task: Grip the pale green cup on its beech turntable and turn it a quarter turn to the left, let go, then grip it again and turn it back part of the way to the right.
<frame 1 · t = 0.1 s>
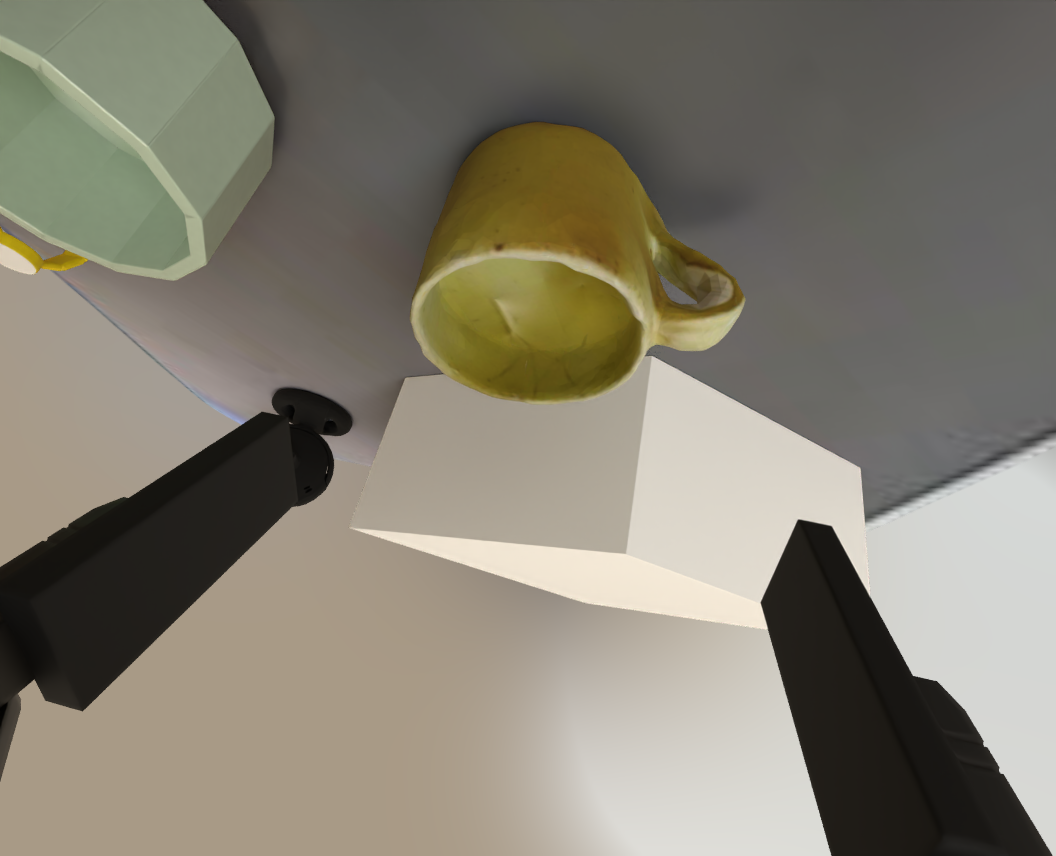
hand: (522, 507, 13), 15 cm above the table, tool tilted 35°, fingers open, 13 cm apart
webcam: (316, 406, 50), on the table
pale green cup: (48, 92, 18), point 5 cm above the table, hinge at 0.0°
block: (625, 418, 39), on the table
mug: (594, 203, 23), on the table
watch: (72, 172, 28), on the table
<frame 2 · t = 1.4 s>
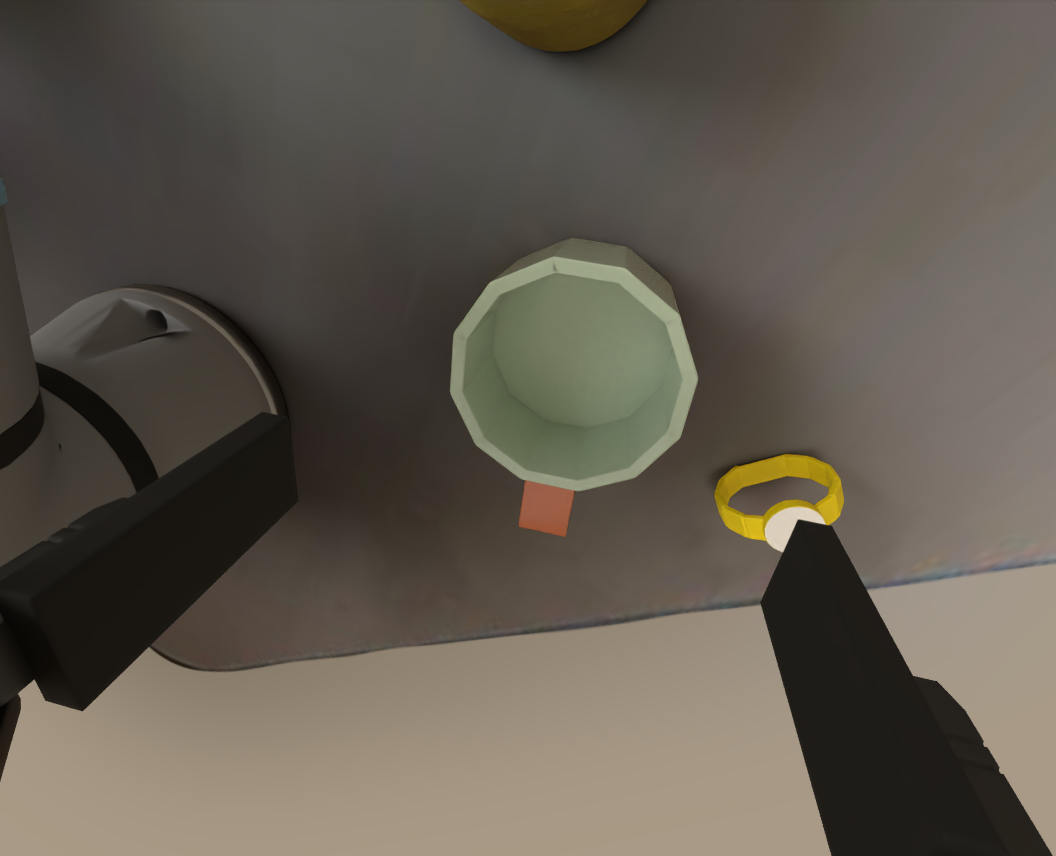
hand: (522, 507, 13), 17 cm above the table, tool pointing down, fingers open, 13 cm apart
pale green cup: (569, 389, 25), point 5 cm above the table, hinge at 0.0°
watch: (763, 466, 30), on the table
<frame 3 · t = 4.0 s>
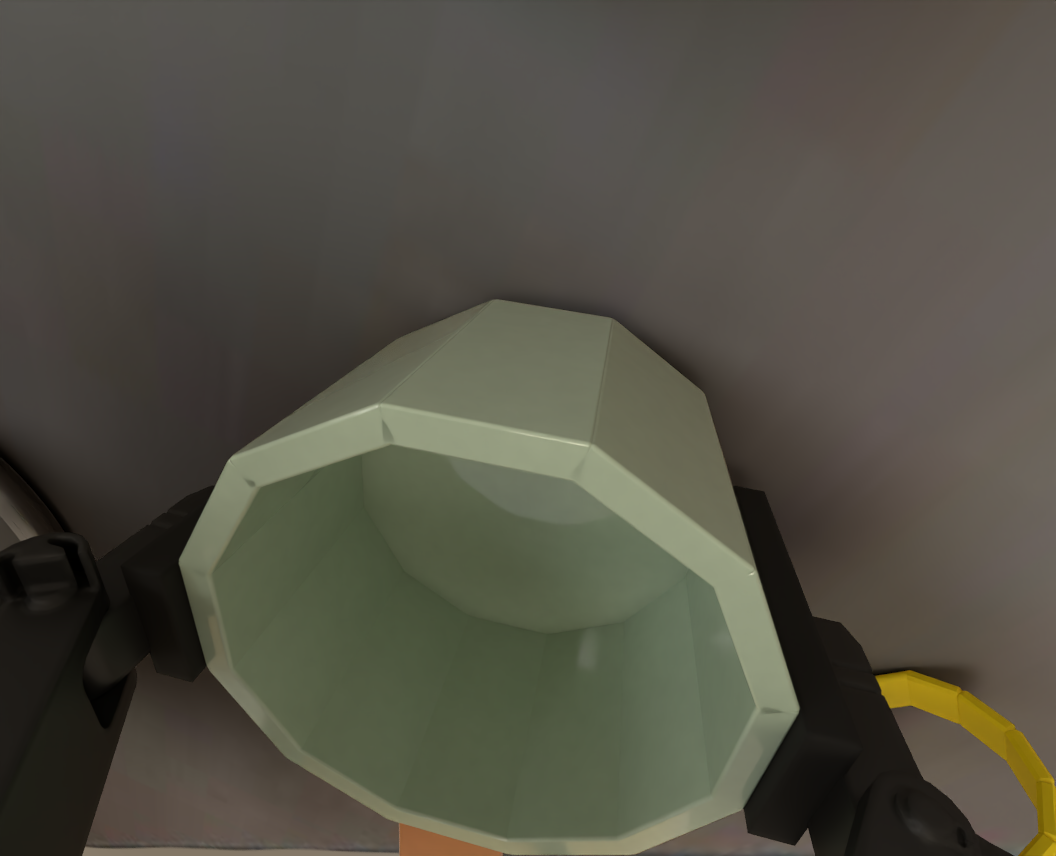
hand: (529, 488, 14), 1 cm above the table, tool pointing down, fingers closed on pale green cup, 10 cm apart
pale green cup: (497, 612, 12), point 5 cm above the table, hinge at 0.0°, touching gripper
watch: (863, 681, 17), on the table
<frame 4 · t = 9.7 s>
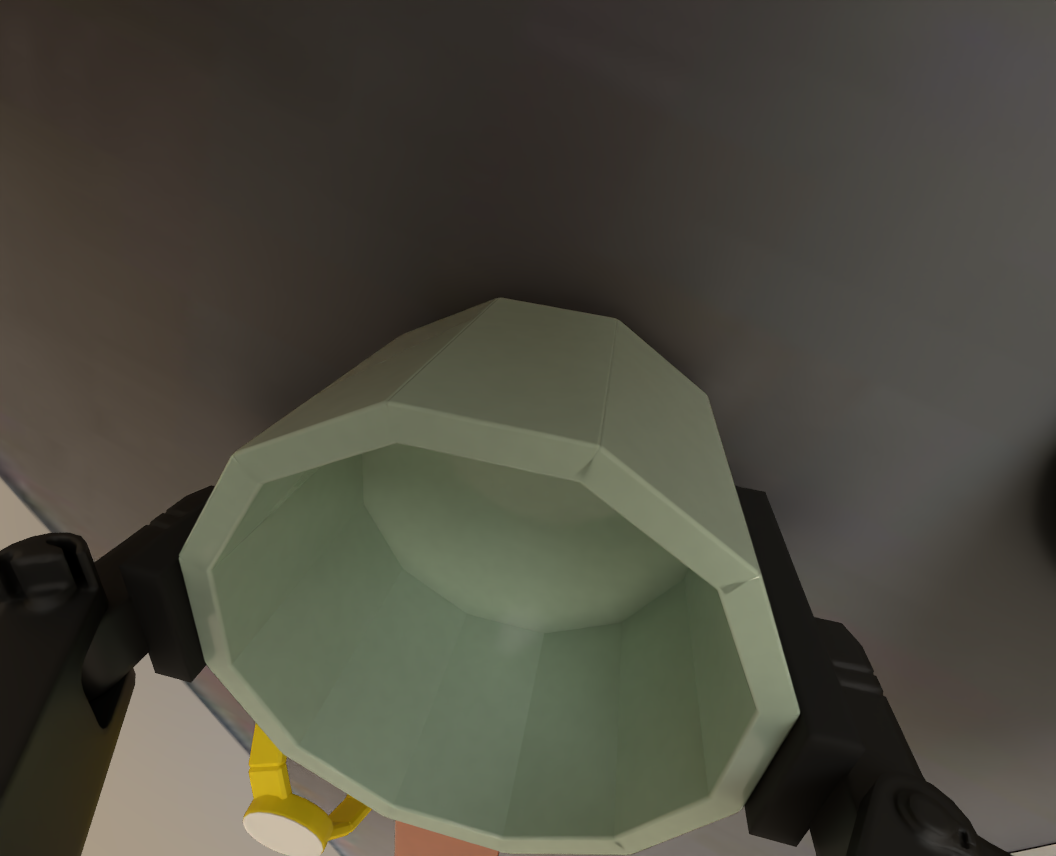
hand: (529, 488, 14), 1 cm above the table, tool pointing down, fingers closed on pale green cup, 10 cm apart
pale green cup: (496, 611, 12), point 4 cm above the table, hinge at 89.0°, touching gripper
watch: (368, 668, 22), on the table
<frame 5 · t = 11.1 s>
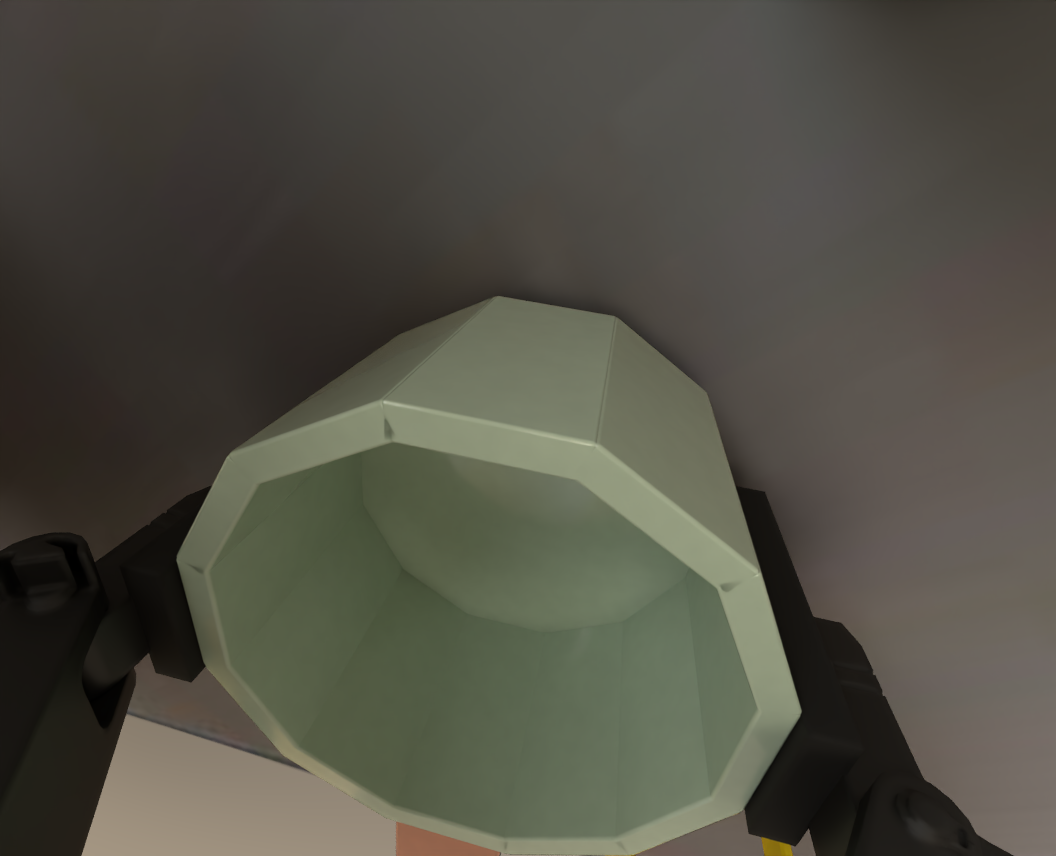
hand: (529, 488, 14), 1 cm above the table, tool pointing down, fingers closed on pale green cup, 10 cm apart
pale green cup: (496, 611, 12), point 5 cm above the table, hinge at 29.9°, touching gripper
watch: (683, 737, 20), on the table
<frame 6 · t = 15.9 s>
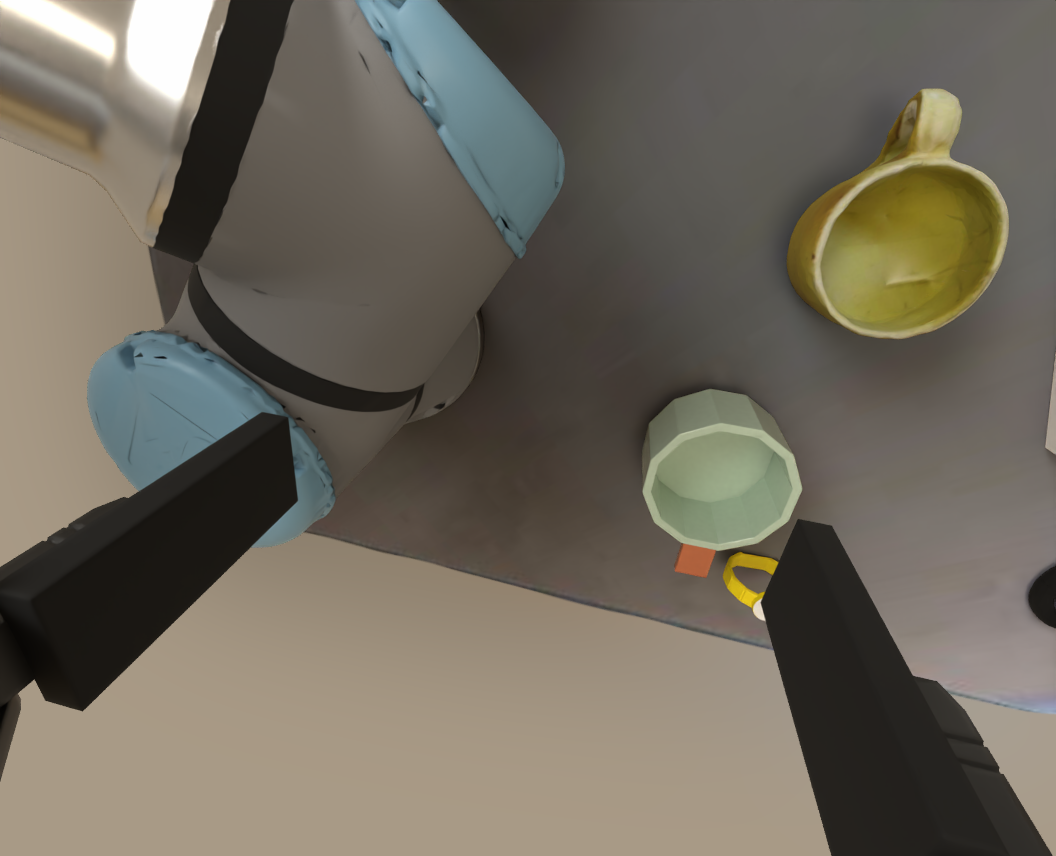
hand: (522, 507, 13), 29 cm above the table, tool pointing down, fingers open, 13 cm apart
pale green cup: (709, 484, 39), point 5 cm above the table, hinge at 30.1°
mug: (860, 215, 34), on the table
watch: (753, 558, 47), on the table
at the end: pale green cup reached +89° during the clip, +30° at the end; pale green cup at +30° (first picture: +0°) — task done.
